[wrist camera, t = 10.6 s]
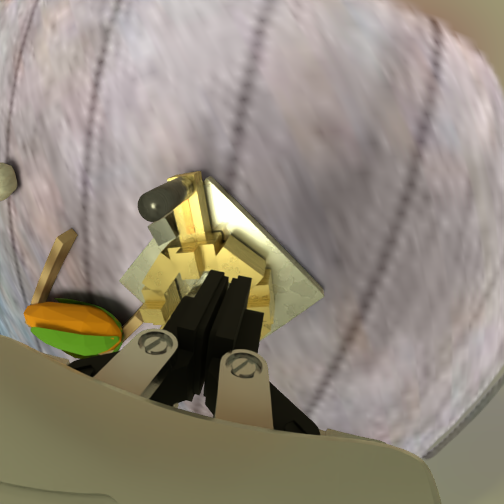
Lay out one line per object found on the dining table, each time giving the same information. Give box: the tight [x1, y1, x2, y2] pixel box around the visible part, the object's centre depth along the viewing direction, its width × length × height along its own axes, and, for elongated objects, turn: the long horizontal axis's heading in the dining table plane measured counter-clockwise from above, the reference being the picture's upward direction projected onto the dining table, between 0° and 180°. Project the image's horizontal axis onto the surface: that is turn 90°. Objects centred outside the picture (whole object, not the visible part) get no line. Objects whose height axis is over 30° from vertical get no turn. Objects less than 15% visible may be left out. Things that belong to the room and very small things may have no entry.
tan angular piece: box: [138, 171, 275, 340], centre depth 24 cm, size 18×12×8 cm
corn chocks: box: [25, 228, 144, 355], centre depth 35 cm, size 22×14×3 cm, turn 135°
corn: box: [24, 298, 124, 359], centre depth 32 cm, size 7×8×20 cm
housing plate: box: [120, 176, 324, 341], centre depth 27 cm, size 16×17×8 cm
